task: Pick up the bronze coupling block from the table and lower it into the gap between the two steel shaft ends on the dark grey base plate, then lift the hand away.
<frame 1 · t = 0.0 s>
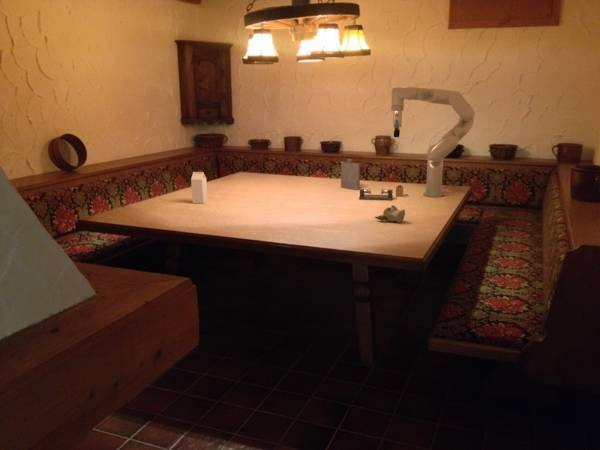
hand: (396, 136, 329), 37 cm above the table, fingers open, 9 cm apart
ceramic sculpture: (391, 221, 274), on the table
milk carton: (200, 202, 327), on the table
shaft rig: (376, 198, 328), on the table
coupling: (399, 196, 333), on the table
hip flask: (349, 188, 360), on the table
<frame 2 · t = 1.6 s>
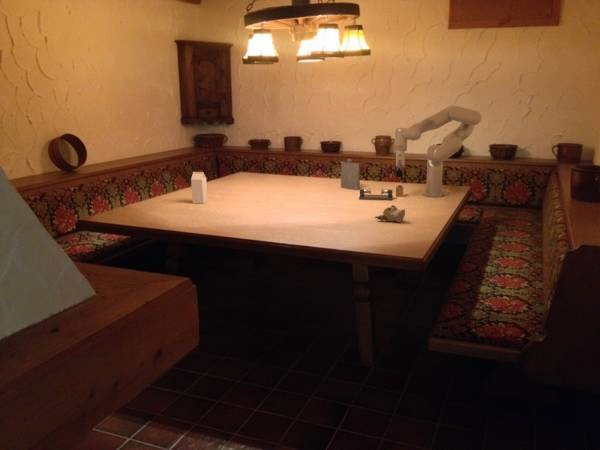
hand: (399, 175, 330), 13 cm above the table, fingers open, 9 cm apart
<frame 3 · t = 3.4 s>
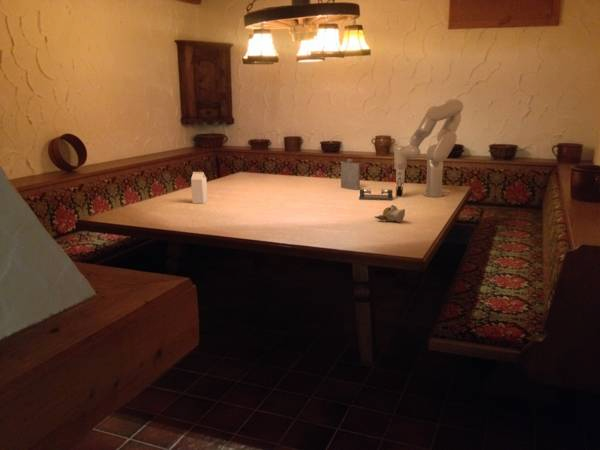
hand: (399, 194, 333), 1 cm above the table, fingers closed on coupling, 4 cm apart
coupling: (399, 196, 333), on the table, touching gripper
everything else where it was.
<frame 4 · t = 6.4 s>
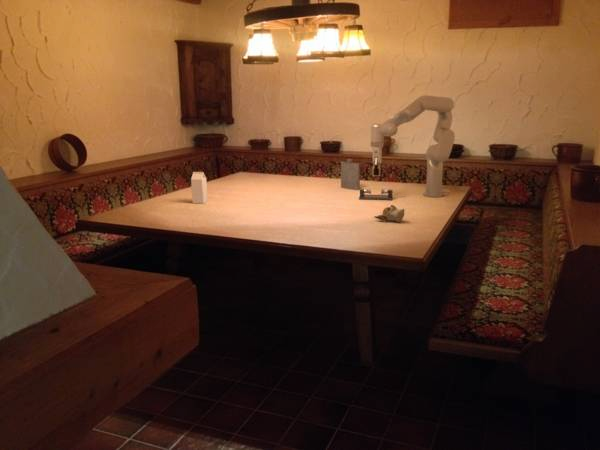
hand: (376, 174, 324), 15 cm above the table, fingers closed on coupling, 4 cm apart
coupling: (376, 175, 324), point 14 cm above the table, touching gripper
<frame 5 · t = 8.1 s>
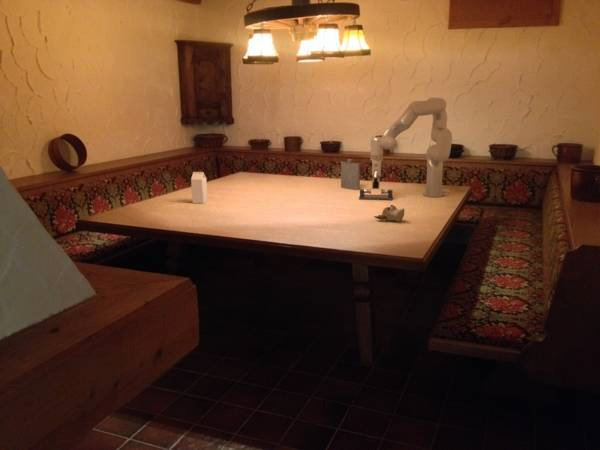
hand: (375, 187, 326), 7 cm above the table, fingers closed on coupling, 4 cm apart
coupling: (375, 188, 326), point 6 cm above the table, touching gripper
when the fingers open (3 cm above the table, at t = 9.4 s): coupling stays where it is, resting on shaft rig.
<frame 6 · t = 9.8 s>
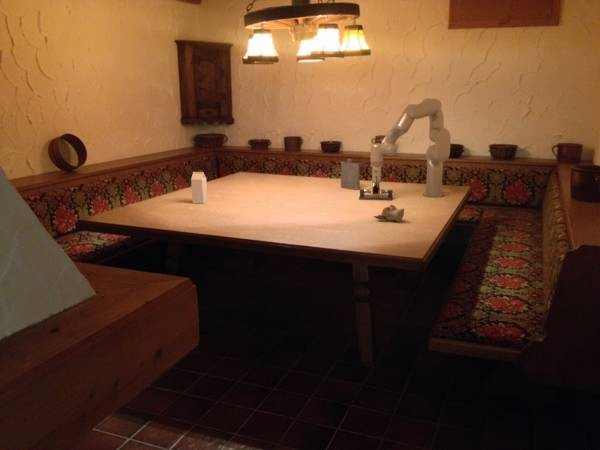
hand: (376, 192, 327), 4 cm above the table, fingers open, 8 cm apart
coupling: (376, 196, 327), point 1 cm above the table, touching shaft rig
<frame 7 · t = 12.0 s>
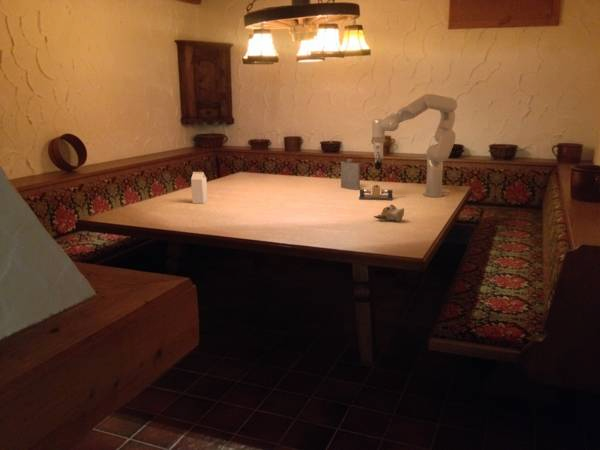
hand: (378, 168, 324), 19 cm above the table, fingers open, 9 cm apart
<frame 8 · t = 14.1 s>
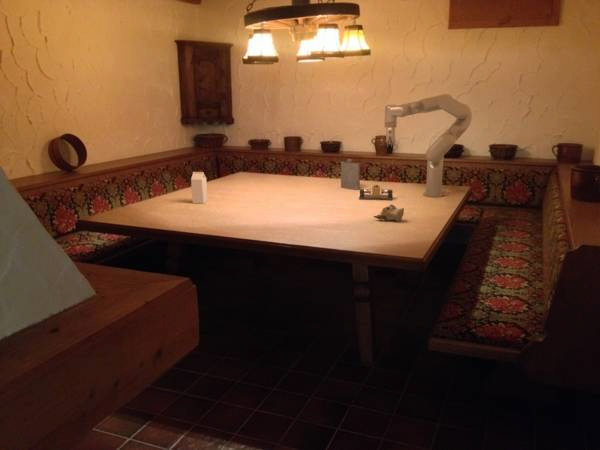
hand: (389, 152, 336), 26 cm above the table, fingers open, 9 cm apart
at the end: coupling 0.0 cm off-centre on the shaft rig, point 1.5 cm above the shaft rig's base; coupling tilted 0°; the gripper is holding nothing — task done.
